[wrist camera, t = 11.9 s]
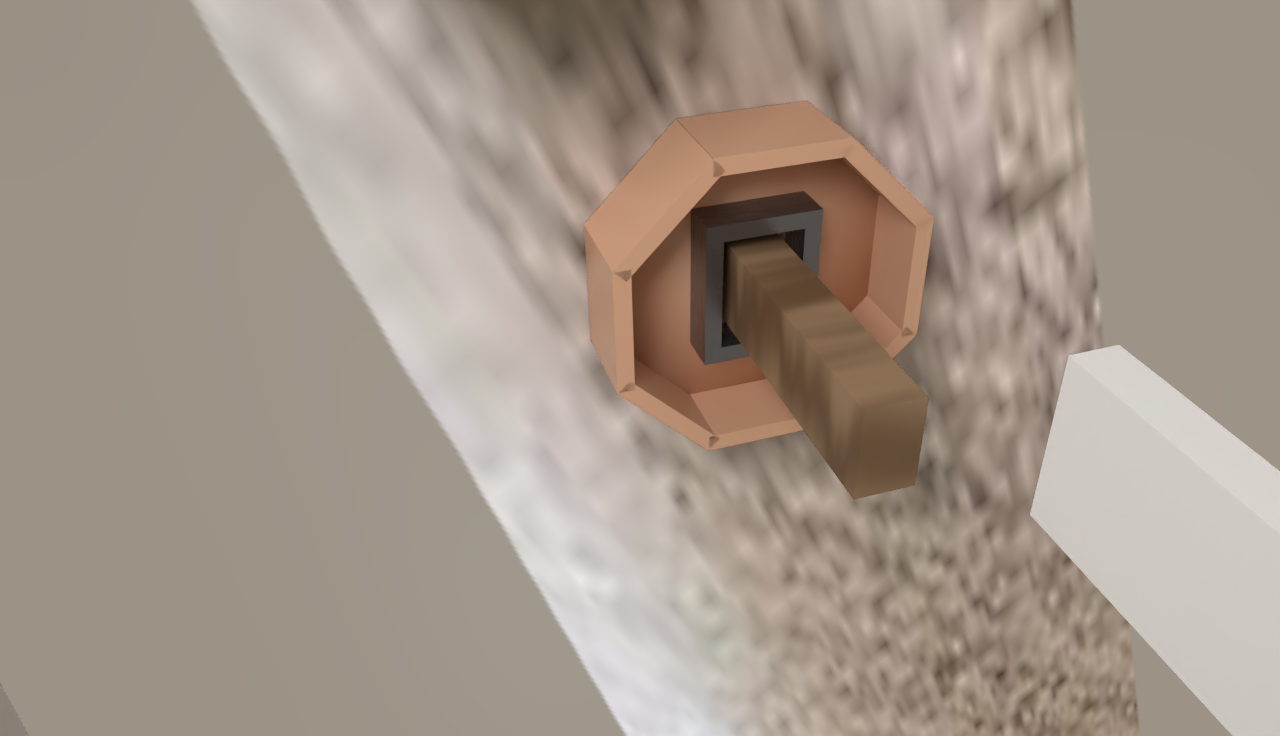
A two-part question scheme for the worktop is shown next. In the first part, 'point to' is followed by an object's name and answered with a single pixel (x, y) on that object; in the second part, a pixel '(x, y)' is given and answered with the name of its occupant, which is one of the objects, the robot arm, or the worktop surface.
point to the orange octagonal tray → (766, 166)
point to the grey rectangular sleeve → (707, 254)
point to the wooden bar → (824, 366)
